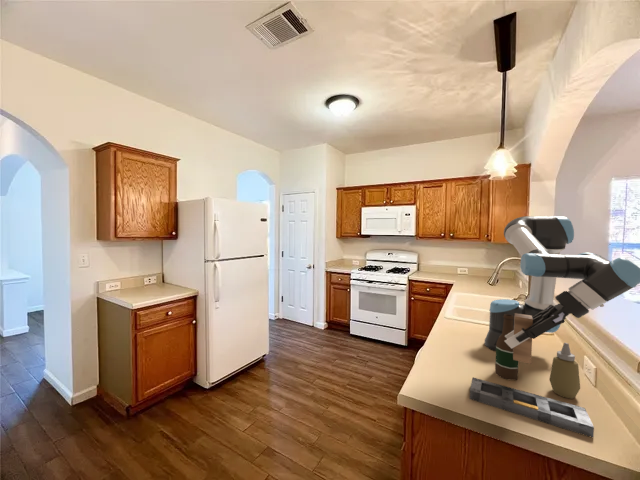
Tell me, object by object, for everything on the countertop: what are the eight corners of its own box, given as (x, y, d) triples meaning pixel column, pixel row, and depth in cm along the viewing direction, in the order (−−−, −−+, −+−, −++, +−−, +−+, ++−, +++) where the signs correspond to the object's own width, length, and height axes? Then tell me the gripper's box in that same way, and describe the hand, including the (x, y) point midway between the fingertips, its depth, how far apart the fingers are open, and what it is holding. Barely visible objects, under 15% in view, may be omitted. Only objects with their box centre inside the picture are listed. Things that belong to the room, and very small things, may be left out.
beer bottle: (511, 382, 102) (514, 319, 101) (490, 372, 109) (492, 313, 108) (522, 377, 106) (525, 316, 105) (501, 368, 113) (503, 311, 112)
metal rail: (469, 398, 92) (469, 389, 91) (472, 385, 100) (472, 376, 100) (593, 437, 75) (594, 426, 75) (584, 417, 83) (584, 407, 83)
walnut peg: (513, 354, 91) (514, 313, 90) (530, 358, 88) (531, 315, 88) (513, 359, 87) (514, 316, 87) (531, 363, 84) (532, 319, 84)
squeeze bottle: (542, 387, 99) (545, 338, 99) (563, 387, 100) (565, 338, 99) (564, 401, 91) (567, 348, 91) (586, 400, 92) (589, 348, 91)
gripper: (599, 318, 71) (518, 362, 81) (583, 304, 85) (517, 343, 95) (572, 295, 74) (497, 340, 84) (562, 285, 88) (499, 325, 98)
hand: (508, 341), depth 89 cm, fingers closed on walnut peg, 4 cm apart
